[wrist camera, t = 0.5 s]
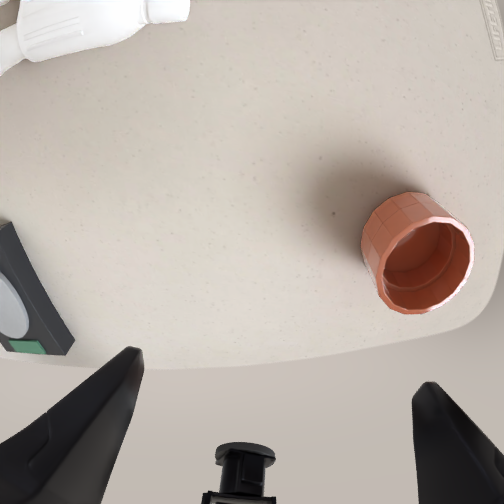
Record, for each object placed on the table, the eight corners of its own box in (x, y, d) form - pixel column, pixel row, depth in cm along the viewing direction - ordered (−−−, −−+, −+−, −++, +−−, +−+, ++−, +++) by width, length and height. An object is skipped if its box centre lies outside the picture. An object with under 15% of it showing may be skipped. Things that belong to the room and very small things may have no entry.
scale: (75, 340, 28) (63, 360, 26) (15, 339, 30) (4, 354, 28) (11, 221, 22) (-9, 236, 19) (-39, 244, 24) (-54, 257, 21)
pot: (411, 287, 22) (431, 325, 18) (341, 256, 21) (354, 295, 17) (459, 216, 19) (491, 245, 15) (391, 171, 18) (419, 195, 14)
